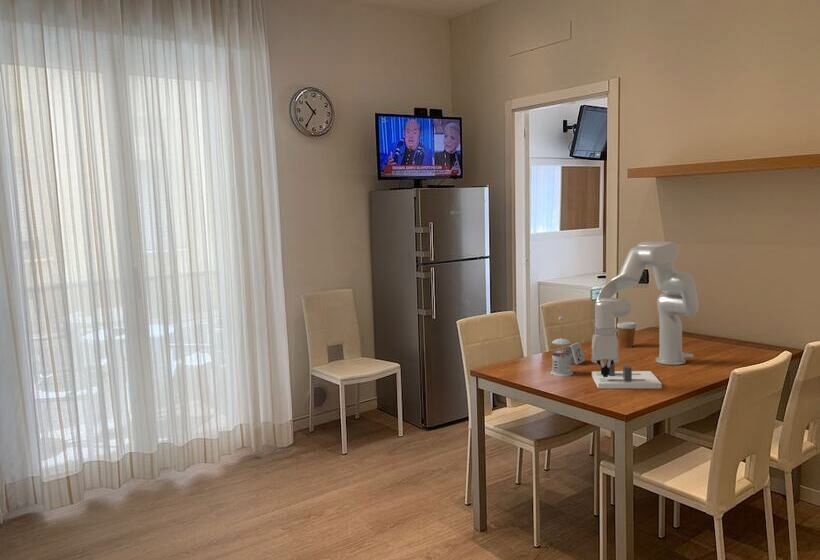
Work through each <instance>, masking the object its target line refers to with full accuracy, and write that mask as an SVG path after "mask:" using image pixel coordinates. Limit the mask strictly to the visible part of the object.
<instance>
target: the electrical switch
mask: <svg viewBox="0 0 820 560" xmlns="http://www.w3.org/2000/svg"><path fill="white" fill-rule="evenodd" d="M565 350H569V351H570V352H569V353H568V354H570V355H571V365H573V364H575V365H576V366H577V365H578V366H579V365H580V364H582V363H584V362H585V361H586V357H585V354H584V351H583V347H582V344H581V342H580V341H576V342H575V343H573V344H569V346H567V347H565Z"/></svg>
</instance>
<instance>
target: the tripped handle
mask: <svg viewBox="0 0 820 560" xmlns="http://www.w3.org/2000/svg"><path fill="white" fill-rule="evenodd" d="M632 369H633V368H632V367H631V366H630V365H629V364H624V365H622V371H623V378H624V380H625V381H632V371H633V370H632Z"/></svg>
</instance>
